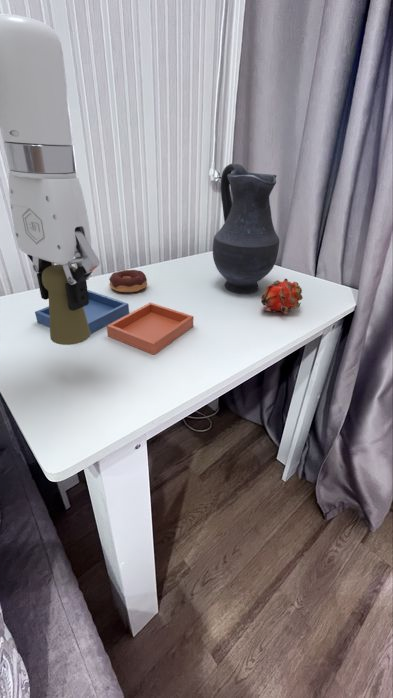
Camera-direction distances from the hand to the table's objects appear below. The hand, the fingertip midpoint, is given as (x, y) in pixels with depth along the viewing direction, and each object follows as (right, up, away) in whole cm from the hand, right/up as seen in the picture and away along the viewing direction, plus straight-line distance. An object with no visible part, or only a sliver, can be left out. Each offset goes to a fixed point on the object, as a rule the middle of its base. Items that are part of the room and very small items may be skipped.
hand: (65, 300), depth 49 cm
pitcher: (+31, +11, +46) cm, 56 cm away
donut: (+1, +9, +41) cm, 42 cm away
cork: (0, -5, +3) cm, 6 cm away
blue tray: (-6, 0, +26) cm, 26 cm away
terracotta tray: (+10, -3, +22) cm, 24 cm away
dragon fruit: (+40, +2, +32) cm, 51 cm away
